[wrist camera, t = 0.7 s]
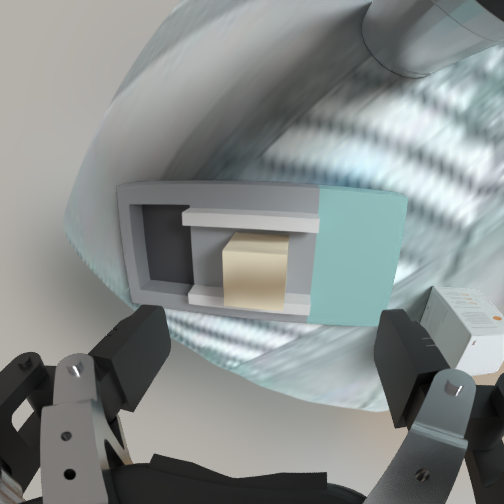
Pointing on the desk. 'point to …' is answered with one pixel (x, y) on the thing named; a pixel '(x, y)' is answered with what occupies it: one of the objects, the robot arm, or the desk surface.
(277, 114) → the desk surface
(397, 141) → the desk surface
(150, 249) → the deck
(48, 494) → the robot arm
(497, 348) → the small box
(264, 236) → the block
